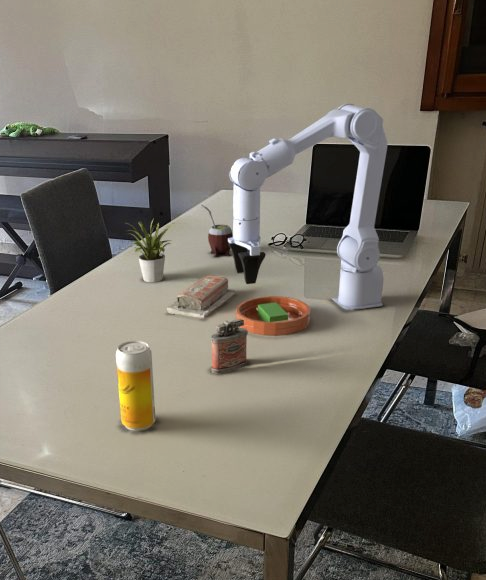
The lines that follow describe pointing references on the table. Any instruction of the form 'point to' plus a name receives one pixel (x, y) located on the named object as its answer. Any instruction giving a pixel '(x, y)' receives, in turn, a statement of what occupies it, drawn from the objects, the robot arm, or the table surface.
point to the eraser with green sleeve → (271, 313)
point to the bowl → (254, 324)
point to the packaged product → (202, 297)
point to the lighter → (229, 347)
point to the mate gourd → (219, 238)
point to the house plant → (151, 254)
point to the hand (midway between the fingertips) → (245, 277)
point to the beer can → (135, 385)
